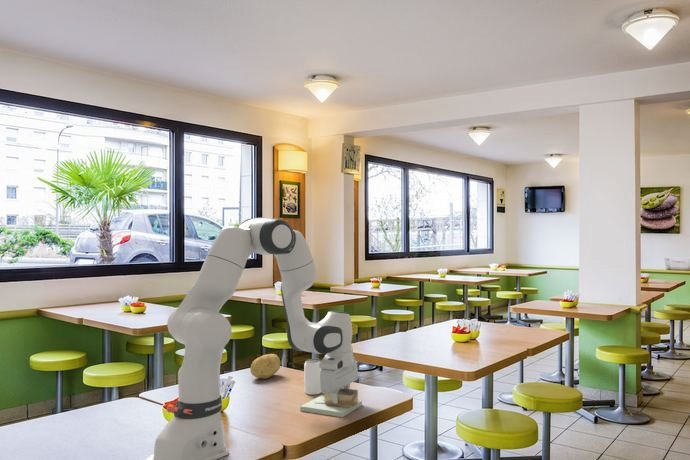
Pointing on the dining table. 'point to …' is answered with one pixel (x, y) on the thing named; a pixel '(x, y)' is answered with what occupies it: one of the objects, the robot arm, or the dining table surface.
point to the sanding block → (343, 398)
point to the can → (312, 376)
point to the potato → (265, 366)
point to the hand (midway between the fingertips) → (340, 400)
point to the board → (327, 407)
